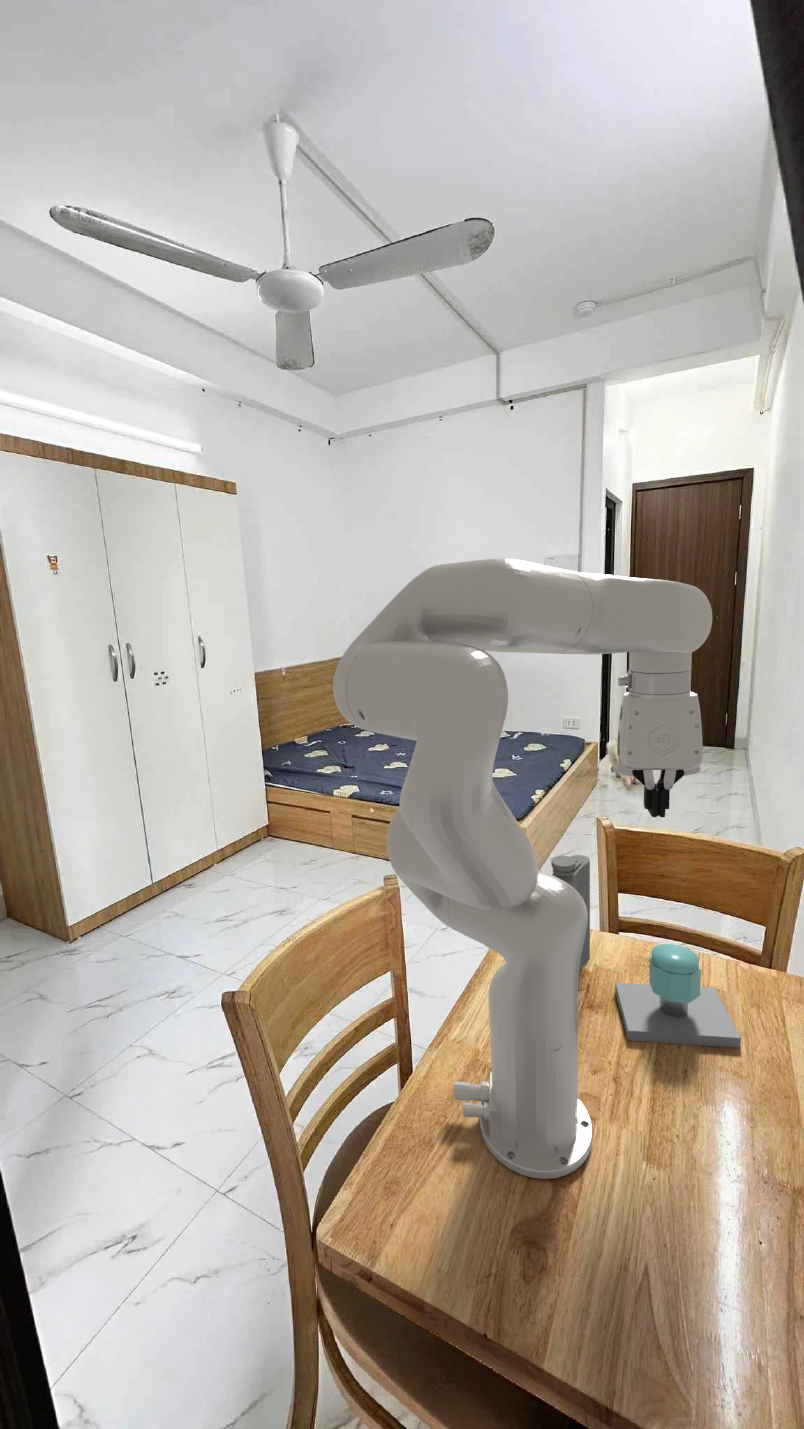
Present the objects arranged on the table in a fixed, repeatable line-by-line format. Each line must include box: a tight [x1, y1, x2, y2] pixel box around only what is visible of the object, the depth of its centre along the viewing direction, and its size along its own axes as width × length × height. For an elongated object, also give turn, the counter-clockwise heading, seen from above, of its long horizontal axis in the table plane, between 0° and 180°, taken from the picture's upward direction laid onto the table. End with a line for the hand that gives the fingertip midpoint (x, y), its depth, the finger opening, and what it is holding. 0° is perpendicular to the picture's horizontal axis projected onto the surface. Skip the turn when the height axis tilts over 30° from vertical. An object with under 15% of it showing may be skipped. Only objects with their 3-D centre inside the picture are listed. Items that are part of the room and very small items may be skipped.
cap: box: [648, 943, 702, 1003], centre depth 82 cm, size 6×6×5 cm
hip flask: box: [550, 854, 591, 971], centre depth 92 cm, size 16×4×20 cm, turn 148°
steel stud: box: [660, 996, 688, 1017], centre depth 83 cm, size 4×4×7 cm
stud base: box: [614, 982, 742, 1049], centre depth 84 cm, size 14×10×2 cm
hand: (656, 813), depth 82 cm, fingers closed
